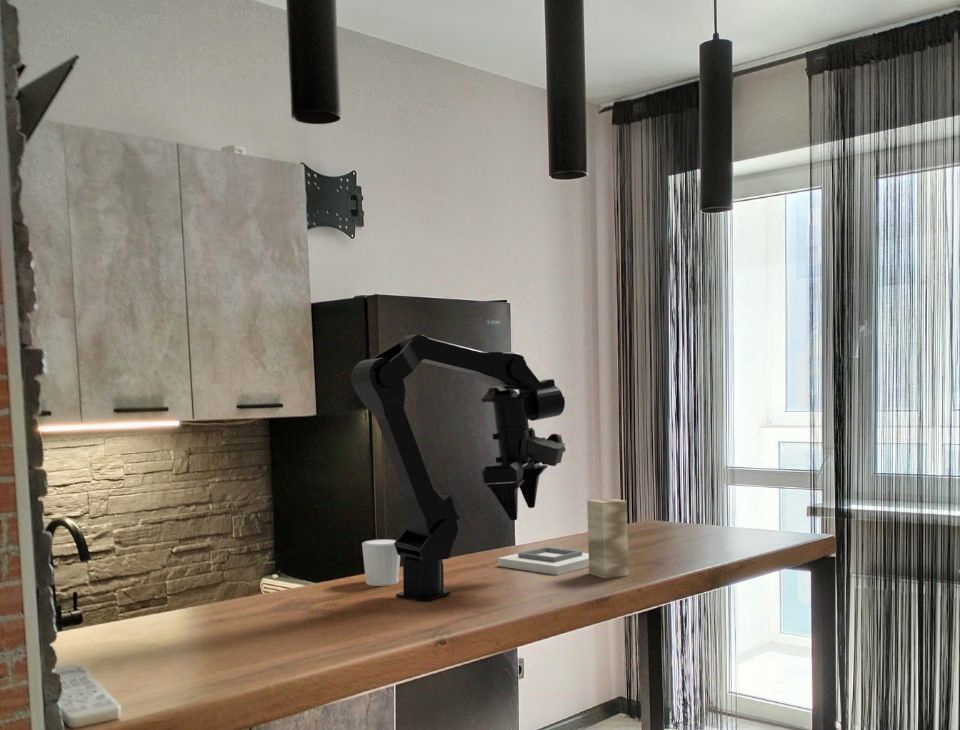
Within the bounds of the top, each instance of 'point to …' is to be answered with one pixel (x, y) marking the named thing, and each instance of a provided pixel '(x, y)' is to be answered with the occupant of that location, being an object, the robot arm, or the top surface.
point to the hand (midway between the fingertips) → (523, 513)
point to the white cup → (381, 562)
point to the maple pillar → (607, 537)
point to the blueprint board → (547, 560)
